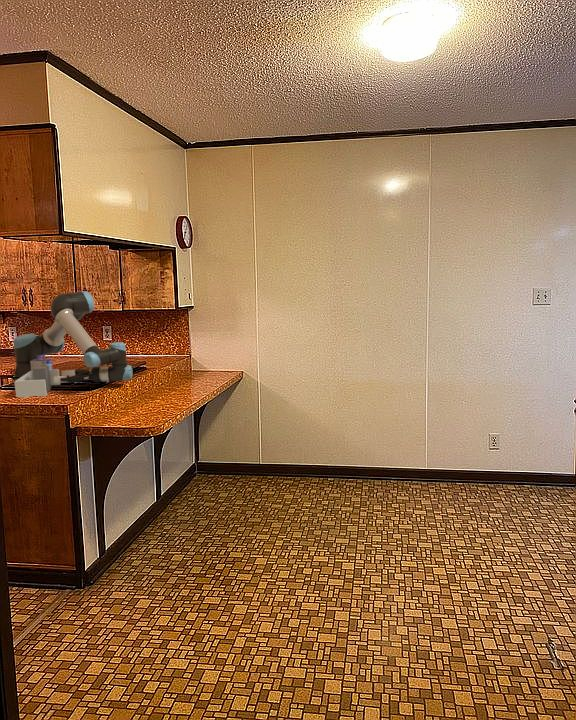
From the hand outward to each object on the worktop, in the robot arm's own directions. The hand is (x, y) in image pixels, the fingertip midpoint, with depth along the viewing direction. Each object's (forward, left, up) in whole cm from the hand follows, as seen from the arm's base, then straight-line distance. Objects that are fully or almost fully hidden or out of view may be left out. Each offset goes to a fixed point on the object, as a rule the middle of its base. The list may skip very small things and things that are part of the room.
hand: (57, 376), depth 316 cm
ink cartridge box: (-20, -14, -7) cm, 26 cm away
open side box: (0, -10, -7) cm, 12 cm away
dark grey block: (0, -8, -7) cm, 11 cm away
